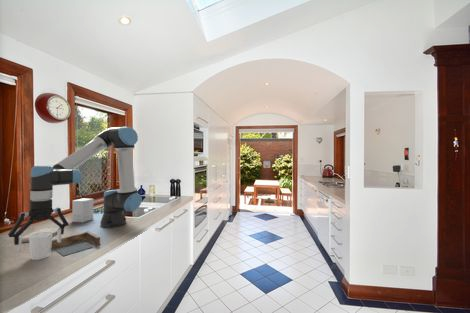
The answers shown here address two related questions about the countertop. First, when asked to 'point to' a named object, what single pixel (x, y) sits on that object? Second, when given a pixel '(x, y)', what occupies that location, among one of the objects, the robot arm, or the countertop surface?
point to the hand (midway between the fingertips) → (40, 246)
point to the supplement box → (82, 210)
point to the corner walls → (76, 239)
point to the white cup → (40, 245)
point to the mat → (73, 248)
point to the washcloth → (53, 230)
